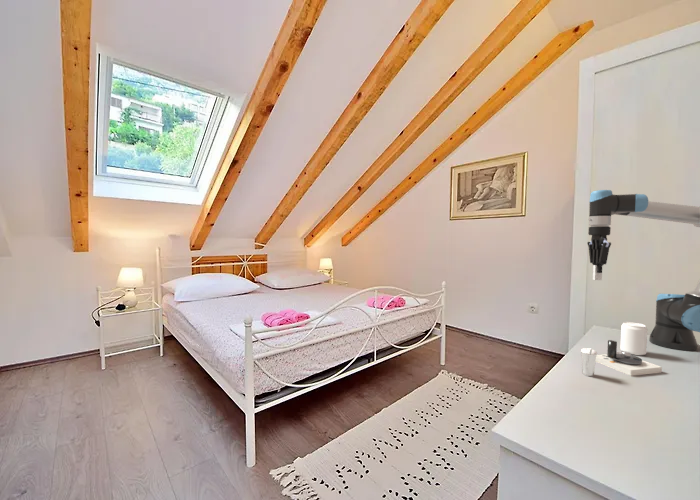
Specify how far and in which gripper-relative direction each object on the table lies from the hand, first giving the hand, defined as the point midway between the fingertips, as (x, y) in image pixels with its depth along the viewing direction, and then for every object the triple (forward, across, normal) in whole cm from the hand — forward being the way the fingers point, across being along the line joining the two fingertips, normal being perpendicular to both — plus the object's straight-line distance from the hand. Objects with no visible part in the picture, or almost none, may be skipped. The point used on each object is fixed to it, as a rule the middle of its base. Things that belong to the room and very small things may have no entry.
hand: (597, 279), depth 139 cm
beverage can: (+30, +6, +11) cm, 32 cm away
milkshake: (+30, +34, -20) cm, 49 cm away
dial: (+27, +23, -3) cm, 36 cm away
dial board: (+29, +23, -2) cm, 37 cm away
